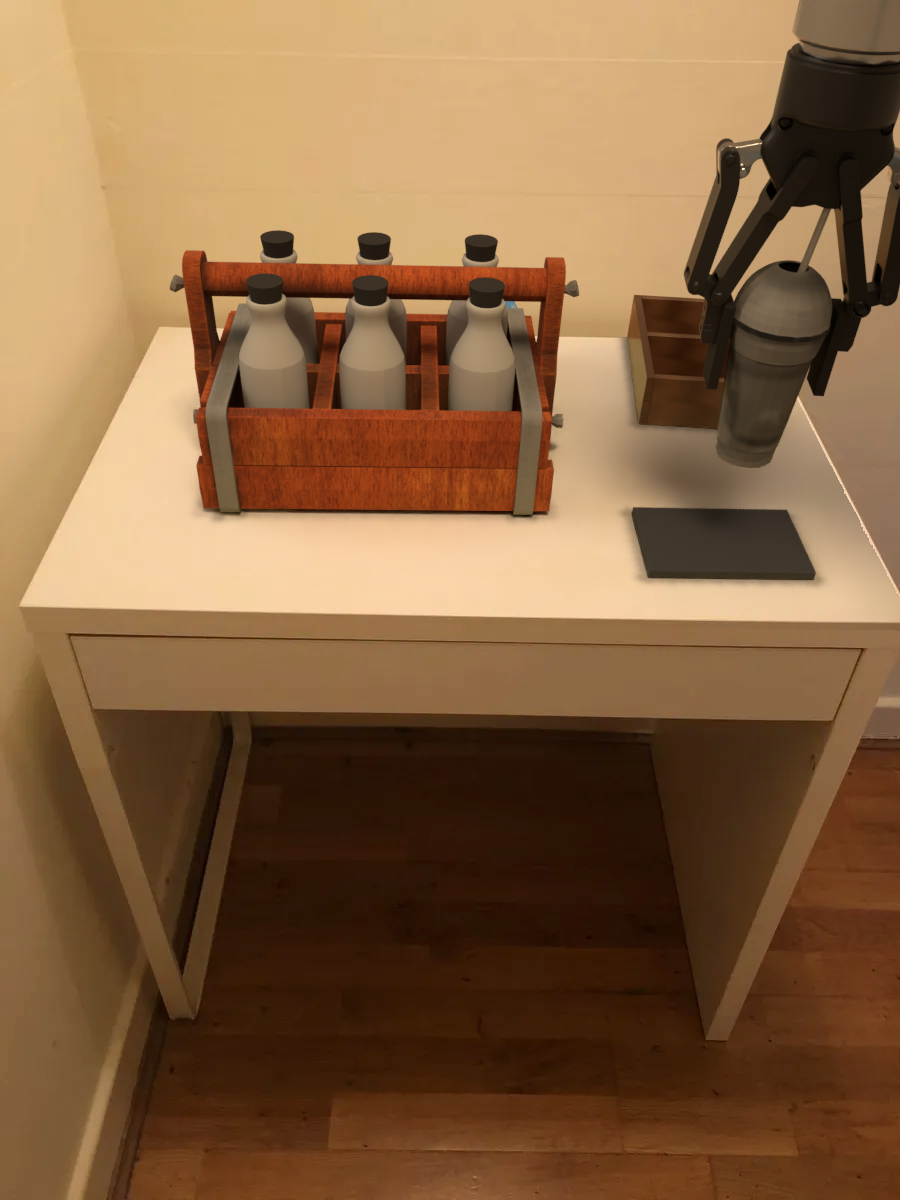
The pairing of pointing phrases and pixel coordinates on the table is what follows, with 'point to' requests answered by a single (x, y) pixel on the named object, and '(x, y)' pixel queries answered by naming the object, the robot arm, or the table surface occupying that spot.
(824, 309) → the beverage cup
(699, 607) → the table surface
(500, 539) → the table surface
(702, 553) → the mat
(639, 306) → the wooden compartment box
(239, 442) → the milk bottle holder
